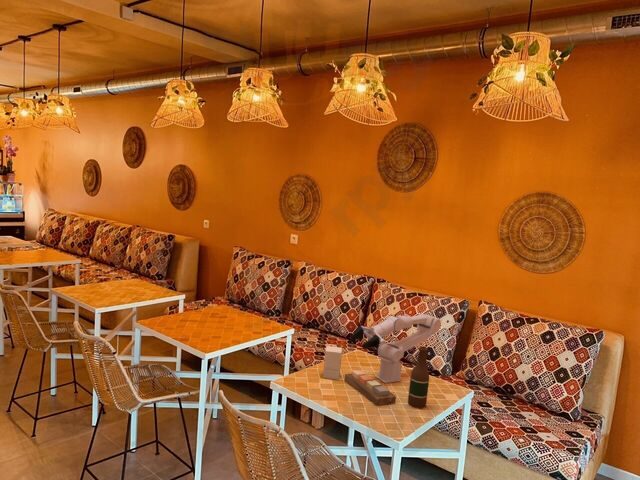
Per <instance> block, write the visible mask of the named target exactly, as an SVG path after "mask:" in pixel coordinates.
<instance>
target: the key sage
mask: <svg viewBox="0 0 640 480" xmlns="http://www.w3.org/2000/svg"><path fill="white" fill-rule="evenodd" d="M380 386H382V384H381V383H380V382H378V381H377V380H374V381H367V383H366V387H367V388H369V389H370V390H371V391H372V390H374V387H380Z"/></svg>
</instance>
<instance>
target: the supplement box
mask: <svg viewBox="0 0 640 480" xmlns="http://www.w3.org/2000/svg"><path fill="white" fill-rule="evenodd" d="M342 353H343V347H338V346H329V345H326V348H325V353H324V354H325V355H324V362H323V364H324V365H323V373H322V374H323V376H322V378H323V379H329V380H340V375H341V366H342V365H341V364H342V357H343V356H342V355H343V354H342Z"/></svg>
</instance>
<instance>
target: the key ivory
mask: <svg viewBox="0 0 640 480" xmlns="http://www.w3.org/2000/svg"><path fill="white" fill-rule="evenodd" d="M351 373H352V376H353V377H354V378H356V379H359V376H364V375H367V373H365V372H364V371H363V370H361V369H359V370H358V369H357V370H352V371H351Z"/></svg>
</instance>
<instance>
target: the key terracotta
mask: <svg viewBox="0 0 640 480" xmlns="http://www.w3.org/2000/svg"><path fill="white" fill-rule="evenodd" d="M373 380H374V378H373V377H371V376H370V375H369V374H366V375H364V376H359V382H361V383H362V384H363V385H366V383H367V381H373Z"/></svg>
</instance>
